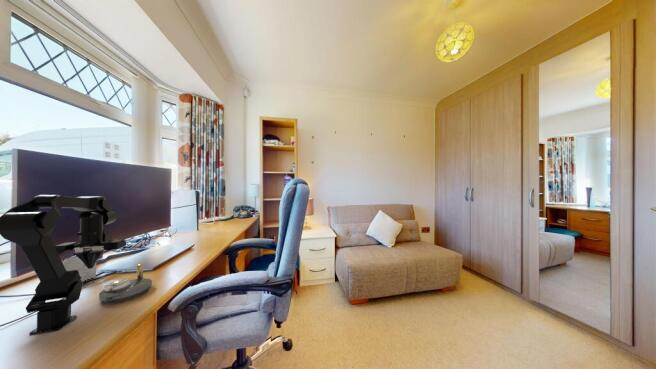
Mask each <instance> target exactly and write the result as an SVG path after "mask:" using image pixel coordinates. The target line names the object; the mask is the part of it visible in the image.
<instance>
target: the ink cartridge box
mask: <svg viewBox="0 0 656 369" xmlns="http://www.w3.org/2000/svg"><path fill="white" fill-rule="evenodd" d="M61 261H62V260H61ZM62 263H63V265H64V267H65V269H66V270H67V271H70V270H77V271H79V275H80V277H82V278H81V281H82V282H85V280H86V279H89V278H93V277H96V278H97V262H96V263H95V265H94V267H93V268H91V269H88V268H87V266H86V265H85V264H84V263H83V262H82V261H81V260H80V259H79V258H78V257H77V256H74V257H71V258H69V259H66V260H64V261H62ZM86 281H87V280H86Z"/></svg>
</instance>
